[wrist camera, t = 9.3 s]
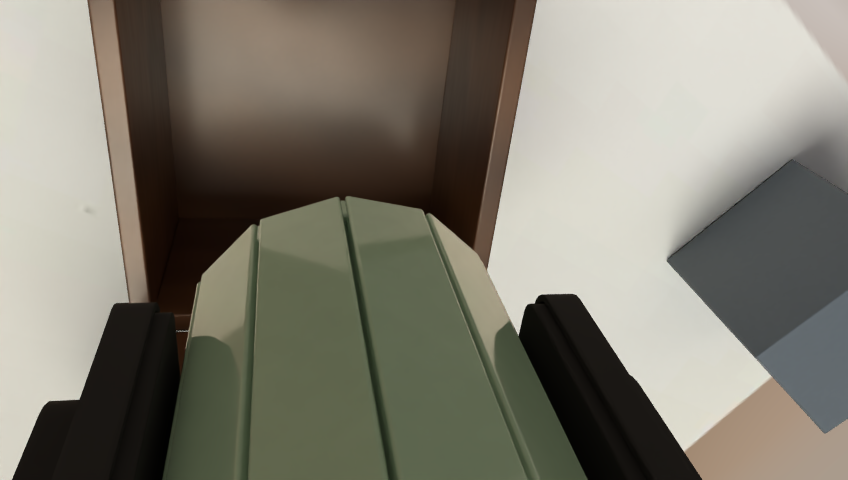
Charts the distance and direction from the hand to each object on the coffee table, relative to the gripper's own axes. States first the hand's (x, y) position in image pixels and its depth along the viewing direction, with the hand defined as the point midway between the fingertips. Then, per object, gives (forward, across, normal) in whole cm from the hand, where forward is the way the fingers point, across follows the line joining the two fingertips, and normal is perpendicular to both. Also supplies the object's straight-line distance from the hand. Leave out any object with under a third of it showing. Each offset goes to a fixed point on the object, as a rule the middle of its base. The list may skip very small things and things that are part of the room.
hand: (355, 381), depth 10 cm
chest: (+20, 0, +2) cm, 20 cm away
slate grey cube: (+19, -25, +10) cm, 33 cm away
